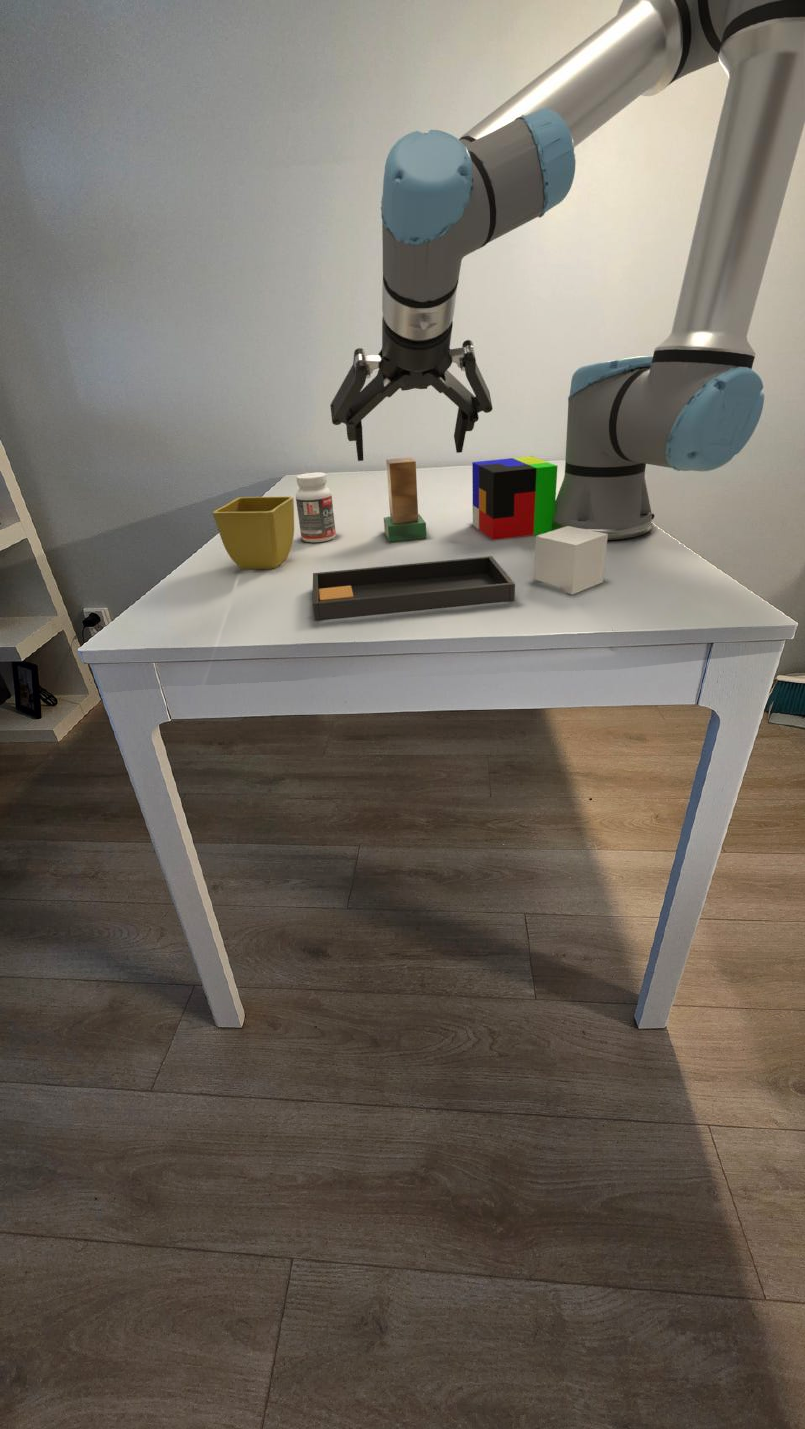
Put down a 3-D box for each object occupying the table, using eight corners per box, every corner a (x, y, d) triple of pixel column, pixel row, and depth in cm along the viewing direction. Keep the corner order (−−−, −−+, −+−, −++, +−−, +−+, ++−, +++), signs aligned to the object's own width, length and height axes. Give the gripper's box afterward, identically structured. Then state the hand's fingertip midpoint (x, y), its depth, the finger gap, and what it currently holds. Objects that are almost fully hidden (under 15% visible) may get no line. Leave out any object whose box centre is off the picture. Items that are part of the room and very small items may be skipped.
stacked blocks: (420, 529, 107) (416, 455, 101) (426, 538, 102) (423, 461, 96) (384, 532, 106) (379, 459, 100) (389, 542, 101) (383, 465, 95)
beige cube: (533, 583, 81) (535, 536, 78) (564, 572, 84) (567, 525, 81) (572, 594, 77) (576, 544, 74) (603, 582, 80) (608, 533, 77)
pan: (491, 575, 84) (491, 556, 83) (514, 605, 75) (515, 583, 74) (315, 592, 83) (312, 573, 81) (315, 625, 73) (312, 603, 72)
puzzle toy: (472, 525, 107) (472, 462, 102) (528, 518, 109) (531, 456, 104) (492, 540, 99) (493, 472, 94) (553, 533, 101) (557, 465, 95)
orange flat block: (352, 594, 80) (351, 585, 79) (354, 605, 76) (353, 596, 76) (319, 598, 79) (318, 588, 79) (320, 609, 76) (319, 599, 75)
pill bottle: (334, 542, 103) (326, 477, 98) (299, 544, 103) (289, 479, 98) (338, 532, 108) (331, 470, 103) (304, 534, 108) (295, 473, 103)
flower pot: (281, 577, 89) (271, 511, 85) (224, 576, 91) (210, 511, 86) (303, 557, 97) (294, 496, 92) (249, 557, 98) (238, 497, 94)
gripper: (302, 354, 66) (320, 479, 86) (539, 336, 67) (502, 464, 88) (296, 295, 68) (315, 432, 88) (527, 280, 69) (494, 418, 90)
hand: (409, 448), depth 88 cm, fingers open, 13 cm apart
